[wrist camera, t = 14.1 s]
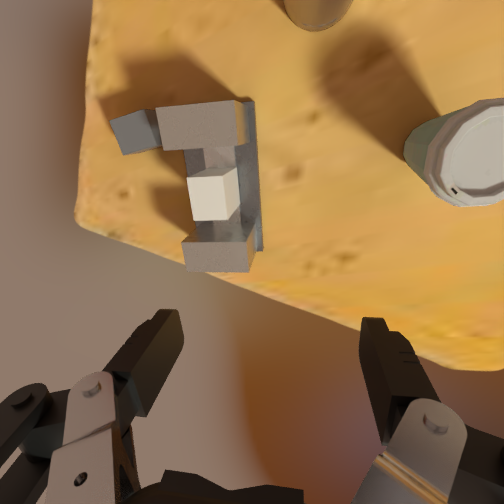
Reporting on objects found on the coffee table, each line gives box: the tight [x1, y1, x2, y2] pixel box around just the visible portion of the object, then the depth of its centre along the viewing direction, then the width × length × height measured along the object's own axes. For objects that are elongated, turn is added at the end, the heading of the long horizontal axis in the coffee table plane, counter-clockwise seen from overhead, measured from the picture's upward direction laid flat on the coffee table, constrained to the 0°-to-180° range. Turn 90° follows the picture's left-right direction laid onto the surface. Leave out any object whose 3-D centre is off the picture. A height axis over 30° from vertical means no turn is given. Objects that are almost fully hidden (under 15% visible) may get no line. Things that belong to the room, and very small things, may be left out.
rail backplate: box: [155, 100, 263, 272], centre depth 42 cm, size 24×12×10 cm, turn 5°
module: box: [187, 167, 240, 221], centre depth 41 cm, size 6×5×9 cm
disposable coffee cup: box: [403, 98, 504, 207], centre depth 32 cm, size 11×11×15 cm
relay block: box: [109, 109, 163, 155], centre depth 42 cm, size 5×6×5 cm
